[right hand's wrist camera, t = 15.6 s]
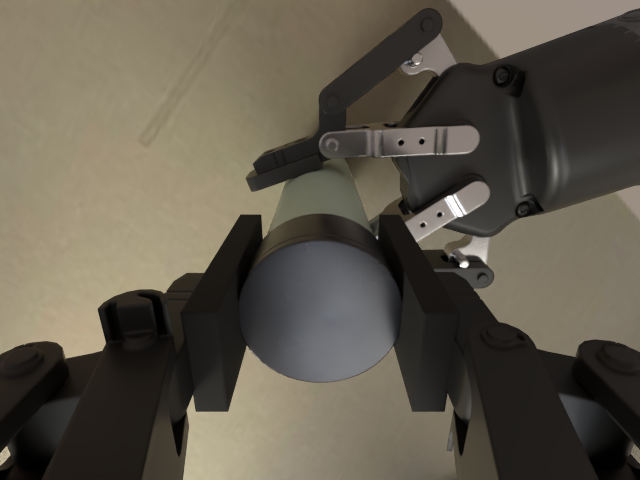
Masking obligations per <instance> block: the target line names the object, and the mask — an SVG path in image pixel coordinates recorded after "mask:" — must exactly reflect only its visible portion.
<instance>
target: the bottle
mask: <svg viewBox="0 0 640 480" xmlns="http://www.w3.org/2000/svg"><path fill="white" fill-rule="evenodd" d="M319 213H324V214H334V215H338V216H342V217H345V218H348V219H351V220H353V221H355V222H357V223H359V224H360V225H362V226H363V227H365V228H366V229H368V230H369V231H370V232H371V233H372V230H371V227H370V224H369V222H368V219H367V216H366V213H365V210H364V208H363V205H362V202H361V199H360V197H359V194H358V191H357V188H356V185H355V183H354V180H353V177H352V174H351V172H350V169H349V166H348V164H347V162H346V160H345V159H344V158H338V159H330V160H327V161H325V162H323V168H321V169H318V170H315V171H312V172H309V173H306V174H303V175H301V176H298V177H295V178H292V179H289V180H287V181H286V183H285V186H284V189H283V192H282V195H281V197H280V200H279V203H278V206H277V209H276V212H275V214H274V217H273V220H272V223H271V226H270V228H269V231H268V234H269V233H270V232H271V231H272V230H273V229H275V228H276V227H277V226H279V225H280V224H282V223H284V222H286V221H288V220H290V219H293V218H295V217H299V216H302V215H308V214H319ZM268 234H267V235H268ZM372 234H373V233H372Z"/></svg>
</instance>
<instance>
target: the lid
mask: <svg viewBox="0 0 640 480" xmlns="http://www.w3.org/2000/svg"><path fill="white" fill-rule="evenodd" d="M402 304H403V297H402V293H401V290H400V287H399V285H398V282H397V280H396V277H395V275H394V272H393V270H392V267H391V265H390V262H389V260H388V257H387V255H386V252H385V250H384V248H383V247H382V245H381V243H380V242H379V241H378V240H377V238H376V237H375V236H374V235H373V234H372V233H371V232H370V231H369V230H368V229H366V228H365V227H363V226H362V225H360V224H359V223H357V222H355V221H353V220H351V219H348V218H345V217H342V216H338V215H334V214H324V213H319V214H308V215H302V216H299V217H295V218H293V219H290V220H288V221H286V222H284V223H282V224H280V225H279V226H277V227H276V228H275V229H273V230H272V231H271V232H270V233H269V234H268V235H267V236H266V237H265V238H264V239H263V240H262V242H261V243H260V244H259V246H258V248H257V250H256V251H255V253H254V256H253V258H252V261H251V264H250V266H249V269H248V271H247V274H246V276H245V279H244V281H243V284H242V287H241V289H240V292H239V296H238V310H239V321H240V331H241V334H242V337H243V339H244V341H245V343H246V344H247V346H248V347H249V349H250V350H251V351H252V353H253V354H254V355H255V356H256V357H257V358H258V359H259V360H260V361H261V362H262V363H264V364H265V365H266V366H268V367H269V368H271V369H272V370H274V371H276V372H278V373H280V374H282V375H284V376H287V377H290V378H293V379H296V380H301V381H306V382H334V381H340V380H344V379H348V378H351V377H354V376H356V375H359V374H361V373H363V372H365V371H367V370H368V369H370V368H371V367H373V366H374V365H376V364H377V363H378V362H379V361H381V360H382V359H383V358H384V357H385V356H386V355H387V354H388V352H389V351H390V350H391V348H392V347H393V345H394V344H395V342H396V340H397V338H398V336H399V333H400V325H401V315H402Z"/></svg>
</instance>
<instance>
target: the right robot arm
mask: <svg viewBox="0 0 640 480" xmlns="http://www.w3.org/2000/svg"><path fill="white" fill-rule="evenodd" d="M262 240H263V238H262V221H261V215H240V216H239V218H238V220H237V221H236V223H235V225H234V226H233V228H232V229H231V231H230V233H229V234H228V236H227V238H226V239H225V241H224V242H223V244H222V246H221V247H220V249H219V250H218V252H217V254H216V255H215V257H214V259H213V260H212V262H211V263H210V265H209V267H208V268H207V270H206V272H205V273H186V274H185V275H183V276H181V277H180V278H178V279H177V280H175V281H174V282H173V283H172V284H171V286H170V287H169V288H168V290H167V293H165V294H164V293H162V292H161V291H156V290H152V289H151V290H135V291H130V292H126V293H123V294H120V295H117V296H114V297H113V298H111V299H109V300H107V301H106V302H104V303H103V304H102V305H101V306H100V307H99V308H98V313H99V317H100V320H101V324H102V328H103V332H104V336H105V340H106V345H105V347H104V349H103V351H100V352H96V353H92V354H87V355H82V356H77V357H72V358H67V359H66V358H65V355H64V352H63V348H62V347H61V346H60V345H59V344H57V343H54V342H48V341H44V342H32V343H28V344H26V345H24V344H23V345H20V346H17V347H15V348H13V349H11V350H9V351H7V352H5V353H2V354H1V355H0V453H1V452H2V450H3V449H4V448H5V447H6V446H7V447H8V449H9V451H10V454H11V455H10V457H9V458H8V459H7V460H6V461H5V462H4V463H3V464H2V465H1V466H0V480H183V474H184V465H185V456H186V448H187V439H188V430H189V423H188V417H187V411H186V410H187V407H188V405H189V403H190V400H191V398H192V395H193V396H194V403H195V409H196V412H228V410H229V406H230V403H231V399H232V396H233V392H234V389H235V385H236V382H237V378H238V374H239V371H240V367H241V364H242V360H243V357H244V353H245V350H246V346H247V344H246V343H245V341H244V339H243V337H242V334H241V331H240V321H239V310H238V296H239V292H240V289H241V287H242V284H243V281H244V279H245V276H246V274H247V271H248V269H249V266H250V264H251V261H252V258H253V256H254V253H255V251H256V250H257V248H258V246H259V244H260V243H261V242H262ZM378 241H379V242H380V243H381V245H382V247H383V248H384V250H385V252H386V255H387V257H388V260H389V262H390V265H391V267H392V270H393V272H394V275H395V277H396V280H397V282H398V285H399V287H400V290H401V293H402V297H403V304H402V315H401V325H400V333H399V336H398V338H397V340H396V342H395V344H394V348H395V352H396V355H397V359H398V362H399V366H400V370H401V373H402V377H403V380H404V384H405V387H406V391H407V394H408V398H409V401H410V405H411V408H412V412H444V411H445V405H446V399H447V393H448V395H449V397H450V400H451V402H452V404H453V407H454V411H453V417H452V422H451V428H450V434H449V440H448V446H447V451H452V448H453V447H454V455H455V464H456V473H457V480H640V463H638V462H637V461H636V460H635V458H634V457H633V456H632V455H631V454H630V453H631V450H632V448H633V446H634V444H635V445H636V446H637V447H638V448H639V449H640V352H638V351H636V350H634V349H631V348H629V347H627V346H626V345H623V344H620V343H616V342H612V341H604V340H589V341H584V342H583V343H582V344H580V345H579V347H578V350H577V353H576V356H575V357H572V356H567V355H562V354H557V353H552V352H547V351H543V350H539V349H537V348H536V346H535V344H534V342H533V341H532V340H531V339H530V337H529V336H528V335H527V334H525V333H524V332H522V331H521V330H519V329H518V328H515V327H513V326H510V325H508V324H505V323H500V322H498V321H497V319H496V318H495V317H494V315H493V314H492V313H491V311H490V310H489V309H488V308H487V306H486V305H485V304H484V302H483V301H482V300H481V299H480V297H479V296H478V294H477V293H476V292H475V291H474V289H473V288H472V286H471V285H470V284H469V282H468V281H467V280H466V279H464V278H463V277H461V276H460V275H458V274H456V273H455V272H435V271H434V269H433V268H432V266H431V264H430V263H429V261H428V260H427V258H426V256H425V255H424V253H423V251H422V250H421V248H420V247H419V245H418V243H417V242H416V240H415V238H414V237H413V235H412V234H411V232H410V230H409V229H408V227H407V226H406V224H405V222H404V221H403V219H402V217H401V216H400V215H379V228H378Z"/></svg>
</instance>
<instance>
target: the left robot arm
mask: <svg viewBox="0 0 640 480" xmlns="http://www.w3.org/2000/svg"><path fill="white" fill-rule="evenodd" d="M441 29H442V18H441V16H440V14H439V13H438V12H437V11H436V10H434V9H432V8H426V9H423V10H421V11H420V12H419V13H417V14H416V15H414V16H413V17H412V18H411V19H409V20H408V21H407V22H405V23H404V24H403V25H402V26H400V27H399V28H398V29H397V30H395V31H394V32H393V33H392V34H391V35H389V36H388V37H387V38H386V39H384V40H383V41H382V42H381V43H379V44H378V45H377V46H376V47H375V48H373V49H372V50H371V51H370V52H368V53H367V54H366V55H365V56H363V57H362V58H361V59H360V60H359V61H357V62H356V63H355V64H354V65H352V66H351V67H350V68H349V69H347V70H346V71H345V72H344V73H343V74H341V75H340V76H339V77H338V78H336V79H335V80H334V81H333V82H331V83H330V84H329V85H328V86H327V87H325V88H324V89H323V90H322V91H321V93H320V95H319V125H318V128H317V130H316V131H315V132H314V133H313V134H312V135H310V136H307V137H305V138H302V139H299V140H296V141H293V142H291V143H288V144H285V145H283V146H280V147H277V148H274V149H271V150H269V151H266V152H264V153H263V154H262V155H261V156H260V157H259V158H258V159H257V160H256V161H255V162H254V163H253V166H254V168H255V170H253V171H251V172H250V173H249V174H248V176H247V177H246V180H247V183H248V185H249V187H250V190H251V191H252V192H254V191H258V190H261V189H264V188H266V187H269V186H272V185H275V184H278V183H281V182H284V181H287V180H289V179H292V178H295V177H298V176H301V175H303V174H306V173H309V172H312V171H315V170H318V169H321V168H323V162H325V161H327V160H330V159H338V158H355V157H374V158H389V157H391V158H392V161H393V163H394V164H395V166H396V167H397V169H398V171H399V172H400V190H401V194H402V196H401V197H400V198H398V199H397V200H395V201H394V202H392V203H391V204H389V205H388V206H387V207H386V208H385V209H384V211H383V212H382V213H381V214H379V215H400V216H401V217H402V219H403V221H404V222H405V224H406V226H407V227H408V229H409V230H410V232H411V234H412V235H413V237H414V238H415V240H416V242H418V241H420V240H421V239H423V238H425V237H426V236H428V235H430V234H431V233H433V232H435V231H436V230H438V229H439V228H441V227H443V228H446V229H450V230H453V231H457V232H460V233H464V234H465V236H464V237H463V238H462V239H460V240H458V241H454V242H450V243H448V244H447V245H446V246H445V248H444V250H422V251H423V253H424V255H425V256H426V258H427V260H428V261H429V263H430V264H431V266H432V268H433V269H434V271H435V272H455V273H456V274H458V275H460V276H461V277H463V278H464V279H466V280H467V281H468V282H469V284H470V285H471V286H472V288H485V287H487V286H489V285H490V284H491V283H492V282H493V280H494V273H493V271H492V270H491V269H490V268H489V267H488V266H487V257H488V250H489V243H490V237H491V236H494V235H496V234H498V233H499V232H501V231H502V230H503V229H504V228H505V227H506V226H507V225H509V224H510V223H512V222H513V221H515V220H517V219H519V218H523V217H528V216H533V215H539V214H544V213H548V212H551V211H555V210H558V209H561V208H564V207H568V206H571V205H574V204H577V203H580V202H584V201H587V200H590V199H593V198H597V197H600V196H603V195H606V194H609V193H613V192H616V191H619V190H622V189H625V188H629V187H632V186H635V185H640V8H639V9H635V10H632V11H629V12H626V13H624V14H622V15H620V16H617V17H615V18H612V19H609V20H607V21H604V22H601V23H599V24H596V25H593V26H590V27H587V28H584V29H582V30H579V31H576V32H573V33H570V34H568V35H565V36H562V37H560V38H557V39H554V40H551V41H549V42H546V43H543V44H540V45H538V46H535V47H532V48H529V49H527V50H524V51H521V52H518V53H516V54H513V55H510V56H508V57H505V58H502V59H499V60H496V61H494V62H491V63H488V64H485V65H475V64H470V63H458V64H457V62H456V61H455V59H454V57H453V55H452V54H451V52H450V50H449V48H448V46H447V45H446V43H445V41H444V39H443V38H442V36H441V34H440V32H441ZM396 69H397V70H398V71H399V72H400V73H401V74H403V75H406V76H409V75H416V74H418V73H420V72H422V71H427V72H429V73H430V74H431V75H432V76H433V78H432V79H431V81H430V82H429V83H428V85H427V86H426V87H425V89H424V90H423V91H422V93H421V94H420V95H419V97H418V98H417V100H416V101H415V102H414V104H413V105H412V106H411V108H410V109H409V110H408V112H407V113H406V114H405V116H404V117H403V118H402V120H401V121H395V122H379V123H367V124H361V125H346V108H347V107H349V106H350V105H351V104H352V103H354V102H355V101H356V100H358V99H359V98H360V97H361V96H363V95H364V94H365V93H366V92H368V91H369V90H370V89H372V88H373V87H374V86H375V85H377V84H378V83H379V82H380V81H382V80H383V79H384V78H386V77H387V76H388V75H389V74H391V73H392V72H393V71H394V70H396ZM379 215H378V216H376V217H375V218H373V219H371V220H370V221H368V222H369V224H370V227H371V230H372V233H373V235H374V236H375V237H376V238H377V240H378V228H379ZM421 223H422V224H421Z"/></svg>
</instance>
